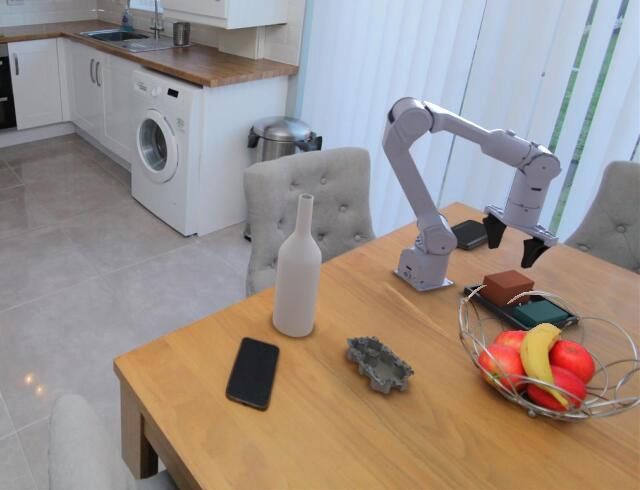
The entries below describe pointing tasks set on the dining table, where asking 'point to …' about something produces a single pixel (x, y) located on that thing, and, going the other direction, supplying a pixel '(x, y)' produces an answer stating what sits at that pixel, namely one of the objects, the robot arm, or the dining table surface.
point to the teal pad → (538, 313)
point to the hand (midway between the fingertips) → (508, 257)
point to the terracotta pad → (506, 288)
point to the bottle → (297, 276)
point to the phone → (469, 234)
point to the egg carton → (379, 364)
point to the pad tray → (508, 310)
